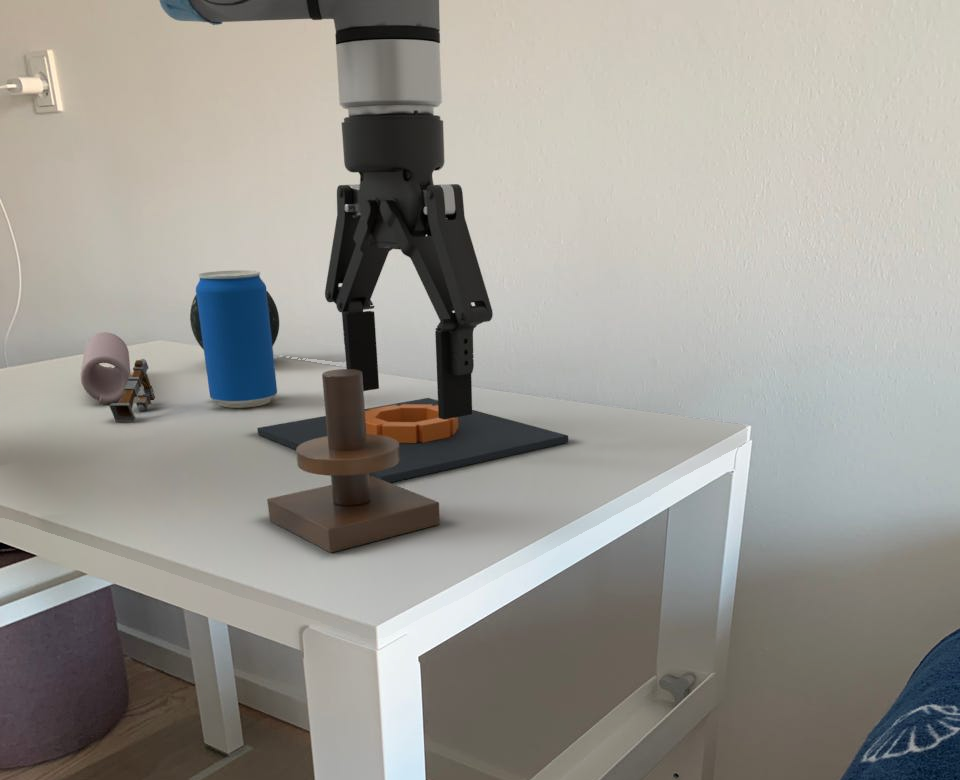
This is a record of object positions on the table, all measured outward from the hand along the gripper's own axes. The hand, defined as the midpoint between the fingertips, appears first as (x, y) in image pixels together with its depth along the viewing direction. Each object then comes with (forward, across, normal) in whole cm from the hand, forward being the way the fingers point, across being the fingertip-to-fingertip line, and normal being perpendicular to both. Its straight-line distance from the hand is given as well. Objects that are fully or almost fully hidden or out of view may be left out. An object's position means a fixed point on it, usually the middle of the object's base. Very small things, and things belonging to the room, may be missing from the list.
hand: (406, 403), depth 83 cm
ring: (+2, 0, 0) cm, 2 cm away
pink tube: (+3, +40, +12) cm, 42 cm away
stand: (+3, -16, +15) cm, 22 cm away
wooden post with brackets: (+3, +26, +14) cm, 30 cm away
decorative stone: (+3, +43, -5) cm, 43 cm away
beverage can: (+3, +23, +4) cm, 24 cm away
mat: (+3, 0, 0) cm, 3 cm away
